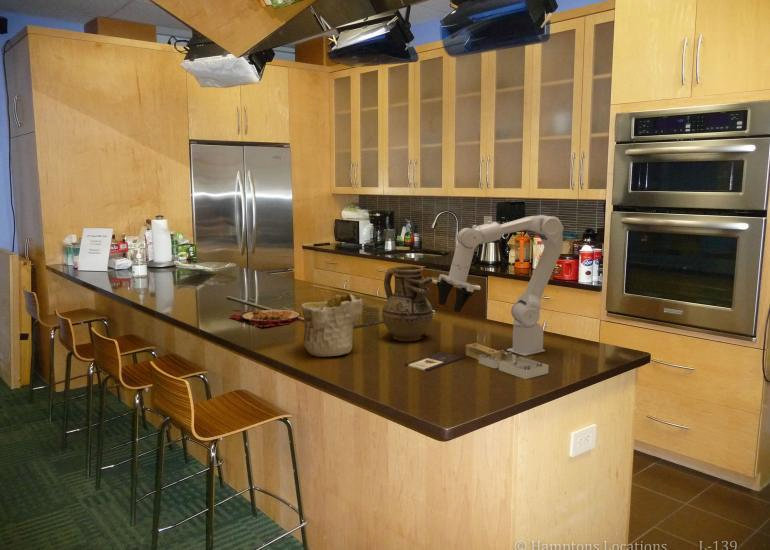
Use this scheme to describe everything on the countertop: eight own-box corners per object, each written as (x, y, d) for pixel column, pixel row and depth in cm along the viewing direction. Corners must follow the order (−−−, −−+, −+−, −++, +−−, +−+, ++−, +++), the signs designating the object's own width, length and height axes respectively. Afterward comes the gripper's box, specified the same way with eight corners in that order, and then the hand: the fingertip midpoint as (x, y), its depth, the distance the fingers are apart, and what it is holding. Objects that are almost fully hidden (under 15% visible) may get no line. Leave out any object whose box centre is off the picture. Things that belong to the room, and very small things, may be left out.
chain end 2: (520, 364, 186) (521, 355, 186) (548, 373, 178) (548, 363, 177) (498, 370, 181) (498, 360, 181) (525, 379, 173) (526, 368, 172)
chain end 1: (500, 358, 193) (500, 348, 193) (515, 363, 188) (516, 353, 188) (478, 363, 188) (478, 353, 188) (493, 368, 183) (494, 358, 182)
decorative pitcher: (367, 337, 221) (366, 267, 217) (403, 329, 233) (403, 262, 229) (411, 348, 205) (411, 273, 201) (447, 339, 217) (447, 268, 213)
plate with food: (263, 331, 234) (262, 322, 234) (228, 318, 254) (228, 310, 253) (316, 322, 251) (316, 313, 250) (280, 310, 270) (280, 302, 270)
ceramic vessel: (266, 331, 199) (302, 271, 206) (312, 362, 212) (344, 305, 219) (302, 342, 184) (339, 277, 191) (350, 375, 197) (383, 313, 204)
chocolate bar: (464, 356, 194) (428, 369, 181) (464, 359, 194) (428, 372, 181) (441, 351, 200) (404, 363, 187) (441, 354, 200) (404, 366, 187)
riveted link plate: (475, 354, 199) (476, 342, 199) (500, 363, 189) (500, 351, 189) (465, 355, 197) (466, 344, 197) (490, 365, 187) (490, 353, 187)
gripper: (436, 259, 197) (425, 300, 199) (466, 269, 185) (454, 313, 187) (452, 262, 201) (441, 302, 203) (483, 272, 190) (471, 315, 191)
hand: (449, 308), depth 195 cm, fingers open, 7 cm apart
